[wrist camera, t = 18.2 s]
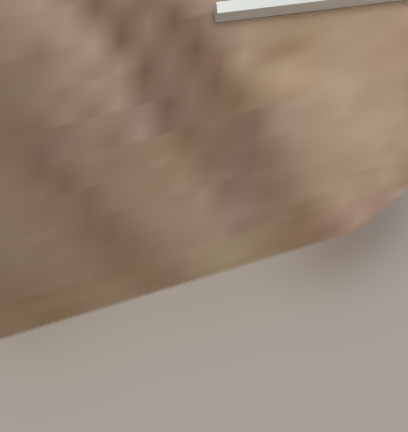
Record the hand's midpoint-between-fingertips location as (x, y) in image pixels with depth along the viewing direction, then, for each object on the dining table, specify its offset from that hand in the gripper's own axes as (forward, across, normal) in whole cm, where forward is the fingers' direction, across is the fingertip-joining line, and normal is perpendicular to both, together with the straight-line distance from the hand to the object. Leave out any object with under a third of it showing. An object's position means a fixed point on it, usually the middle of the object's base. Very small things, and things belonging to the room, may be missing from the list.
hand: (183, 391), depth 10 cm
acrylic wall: (+35, +17, +18) cm, 43 cm away
